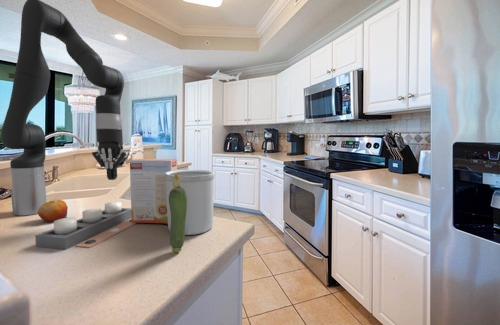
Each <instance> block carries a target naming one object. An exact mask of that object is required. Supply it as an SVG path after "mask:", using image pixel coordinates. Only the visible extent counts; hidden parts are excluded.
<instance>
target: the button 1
mask: <svg viewBox="0 0 500 325" xmlns="http://www.w3.org/2000/svg"><path fill="white" fill-rule="evenodd" d="M77 220H78V218H76V217H67V218H63V219H59V220H56V221H54V222H53V229H54V234H55V235H65V234H70V233H73V232H75V231H77Z"/></svg>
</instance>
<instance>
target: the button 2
mask: <svg viewBox="0 0 500 325" xmlns="http://www.w3.org/2000/svg"><path fill="white" fill-rule="evenodd" d="M122 204H123V203H122V202H121V201H110V202H106V203H104V210H105V214H118V213H121V212H122V208H123V207H122V206H123V205H122Z"/></svg>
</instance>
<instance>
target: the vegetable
mask: <svg viewBox="0 0 500 325" xmlns="http://www.w3.org/2000/svg"><path fill="white" fill-rule="evenodd" d="M178 175H179V174H178V172H177V173H175V176H174V177H173V180H172V185H173V187H174V188H173V189H172V190H171V191H170V193H169V206H170V212H171V229H170V231H169V238H170V239H169V240H170V242H169V243H170V246H171V251H172V253H173V254H174V253H179V252H182V248H183V246H184V243H185V236H186V235H185V223H186V213H187V194H186V191H185V190H184V189H183V188H182V187H180V186H181V182H180V178H179V176H178Z"/></svg>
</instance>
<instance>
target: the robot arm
mask: <svg viewBox="0 0 500 325" xmlns="http://www.w3.org/2000/svg"><path fill="white" fill-rule="evenodd" d="M42 34H46V35H48V36H50V37H54V38H56V39H57V40H59V41H61V42H62V43H63V44H64V45H65V48H66V52H67V54H68V55H69V57H70V58H71V59H72V61H73V62H75V63H76V64H77V65H78V66H79V67H80V68H81V70H82V72H83V74H84V76H85V78H86V79H87V81H89V82H90V83H91V84H93V85H94V86H96V87H98V88H103V89H105V92H104V94H102V95H97V96H96V97H95V112H96V113H95V115H96V116H95V128H96V131H95V133H96V142H97V143H98V145H97V150H96V151H92V152H91V153H92V154H91V155H92V156H93V158H94V159H95V161H96V162H97V163H98V164H99V166H100V167H101V168H105V169H106V177H107V179H108V181H115V180H117V178H118V168H119V167H123V165H125V164H124V163H125V162H126V160H127V159H128V158H129V156H130V155H131V154H130V152H129V151H126V150H125V149H124V146H123V144H122V143H123V141H124V139H123V122H122V121H123V120H122V116H121V99H122V95H123V93H124V92H123V91H124V87H125V79H124V76H123V74H122V72H121V71H119V70H118V69H117V68H113V67H110V66H107V65H105V64H104V61H103V59H102V57H100V55H99V54H98V52H96V51H95V50H94V49H93V48H92V47H91V46H90V45H89V44H88V43H87V42H86V40H84V39H83V38H82V37H81V35H79V33H78V32H77V30H76V29H75V28H74V26H73V25H72V23H71V22H70V20H68V18H67V17H66V16H65V14H64V13H62V12H61V11H60V10H58V9H57V8H55V7H53V6H51V5H49V4H47V3H46V2H44V1H43V0H26V1H25V3H24V4H23V6H22V12H21V24H20V39H19V49H18V55H17V61H16V66H15V70H14V75H13V82H12V90H11V94H10V99H9V104H8V105H9V106H7V107H8V109H7V111H6V114H5V117H4V120H3V123H2V126H1V131H0V132H1V133H0V138H1V139H0V140H1V143H2V145H3V146H4V147H6V148H7V149H10V150H23V152H22V154H21V155H19V156H18V157H15V158H13V159H11V160H10V163H9V164H10V166H9V167H10V176H11V188H10V195H11V196H10V197H11V207H12V209H11V210H12V214H14V215H15V216H30V215H31V216H32V215H36V214H37V215H38V210H39V208H40V207H41V206H42V205H43V204H44V203H46V202H48V201H47V191H46V179H45V178H46V177H45V159H46V134H45V132H44V130H43V127H41V126H39V125H38V124H34V123H32V124H31V123H27V121H28V120H27V119H28V117H29V115H30V113H31V111H32V110H33V109H34V108H35V107H36V106H37V105H38V104H39V103H40V102H41V101H42V100H43V99H44V98H45V97H46V95H47V94H48V90H49V86H50V81H51V70H50V67H49V65H48V63H47V60H46V58H45V55H44V53H43V50H42V45H41V44H42V42H41V40H42Z"/></svg>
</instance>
